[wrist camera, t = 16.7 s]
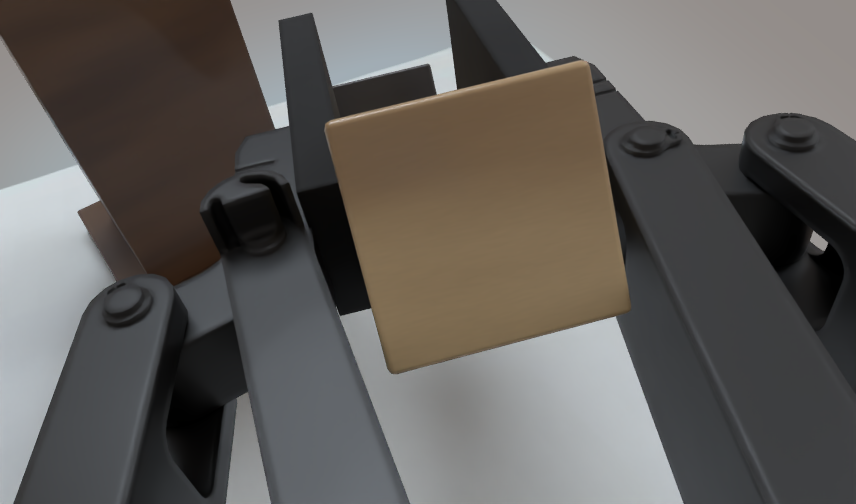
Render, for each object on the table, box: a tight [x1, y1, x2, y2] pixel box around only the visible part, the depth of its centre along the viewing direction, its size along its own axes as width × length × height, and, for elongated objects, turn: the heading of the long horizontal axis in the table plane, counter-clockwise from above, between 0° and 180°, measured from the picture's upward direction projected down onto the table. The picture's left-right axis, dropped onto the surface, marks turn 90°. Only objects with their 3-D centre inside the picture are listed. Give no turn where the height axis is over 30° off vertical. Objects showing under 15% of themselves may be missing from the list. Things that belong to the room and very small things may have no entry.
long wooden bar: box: [324, 60, 631, 374], centre depth 18 cm, size 22×4×4 cm, turn 12°
